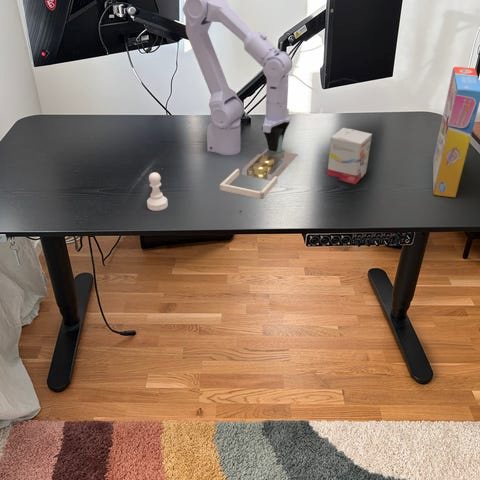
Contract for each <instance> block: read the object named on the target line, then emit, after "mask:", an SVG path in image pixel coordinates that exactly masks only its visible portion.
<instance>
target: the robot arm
mask: <svg viewBox="0 0 480 480" xmlns="http://www.w3.org/2000/svg"><path fill="white" fill-rule="evenodd" d="M182 12H183V14H184V17H185V33H186V36H187V38H188V41H189V44H190V46H191V49H192V51H193V54H194V56H195V58H196V61H197V64H198V66H199V69H200V71H201V73H202V76H203V78H204V80H205V83H206V86H207V89H208V91H209V93H210V94H209V95H210V99H209V103H208V106H209V107H208V108H209V110H210V120H211V121H210V123H209V124H208V126H207V130H206V144H207V145H206V146H207V148H206V149H207V152H213V153H216V154H220V155H223V156H232V155H237V154H239V153H240V152H241V118H242V116H243V115H244V113H245V105H244V103H243V102H242V100H241V99H240V98H239V97H238V95H237V92H236V91H235V90H234V89H232V88H230V87H229V84H228V82H227V78H226V77H225V73H224V72H223V68H222V66H221V63H220V60H219V58H218V55H217V53H216V50H215V47H214V45H213V43H212V39H211V37H210V34H209V30H210V27H211V25H212V23H213V22H214V23H221V24H222V25H223V26H224V27H225V28H227V29H228V30H229V31H230V32H231V33H233V34H234V35H235V36H236V37H237V38H238V39H239V40H240V41H242V42H243V48H244V51H245V52H246V53H247V54H249V56H250V57H252V59H254V60H255V61H256V62H257V64H259V66H261V67H262V72H263V74H264V76H265V78H266V91H265V92H266V94H265V95H266V96H265V98H266V100H265V116H264V122H263V125H262V126H261V131H262V133H263V135H264V137H265V140H266V143H267V149H268V148H269V150H270V151H277V148H278V142H279V137H280V135H282V143H283V141H284V137H285V133H286V130H287V129H288V127H289V125H290V122H291V121H292V118H291V117H289V113H290V112H289V110H290V109H289V108H288V99H289V98H288V97H289V96H288V95H289V90H288V89H289V73H290V71H291V70H292V68H293V60H292V58H291V56H290V55H289V54H288V52H286V51H281V49H279V47H275V46H274V44H272V43H271V42H270V41H269V40H268V39H267V38H268V36H267V35H266V34H265V33H261V32H258V31H255V32H254V31H253V30H251V28H250V27H249V26H248V25H247V24H246V23H245V22H244V21H243V19H241V18H240V16H239V15H238V14H237V13H236V12H235V10H233V8H232V7H230V6H229V3H228V1H227V0H185V1H184V4H183V6H182Z"/></svg>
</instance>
